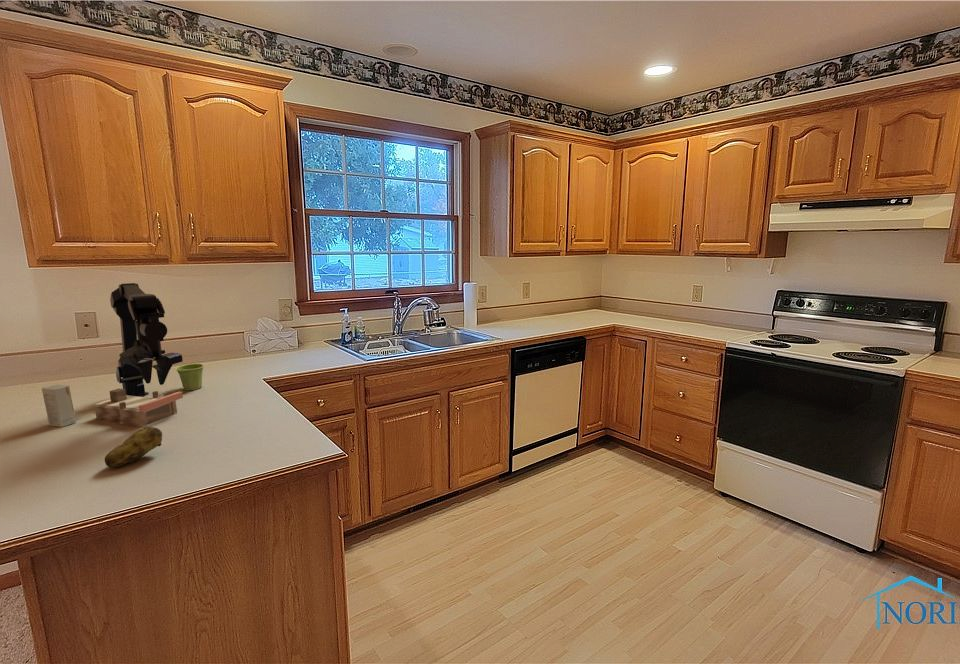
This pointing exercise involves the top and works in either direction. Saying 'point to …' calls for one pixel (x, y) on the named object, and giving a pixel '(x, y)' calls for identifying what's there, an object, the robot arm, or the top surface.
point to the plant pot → (191, 376)
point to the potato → (134, 447)
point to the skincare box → (59, 405)
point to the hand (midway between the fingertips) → (155, 383)
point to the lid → (124, 400)
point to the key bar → (160, 401)
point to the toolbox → (136, 413)
